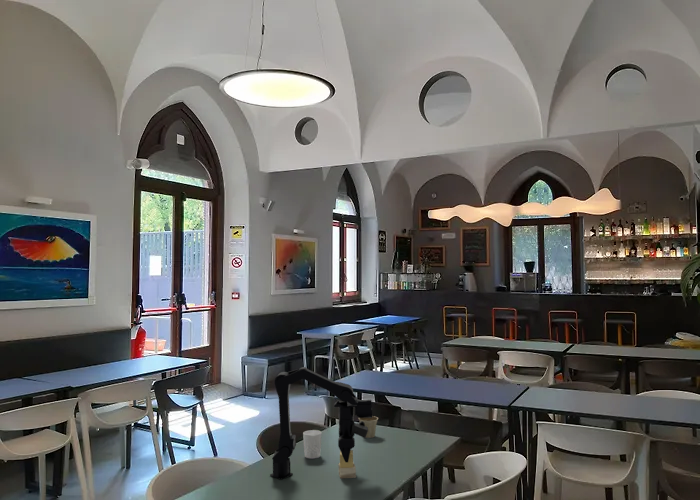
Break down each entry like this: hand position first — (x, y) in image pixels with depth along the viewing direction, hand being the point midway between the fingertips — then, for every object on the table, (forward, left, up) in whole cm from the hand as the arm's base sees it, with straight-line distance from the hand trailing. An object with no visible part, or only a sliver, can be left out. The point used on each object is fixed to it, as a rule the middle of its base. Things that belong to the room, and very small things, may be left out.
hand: (346, 458), depth 216 cm
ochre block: (0, 0, -3) cm, 3 cm away
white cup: (+8, +26, -7) cm, 28 cm away
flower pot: (+45, +24, -7) cm, 51 cm away
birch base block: (0, 0, -7) cm, 7 cm away
